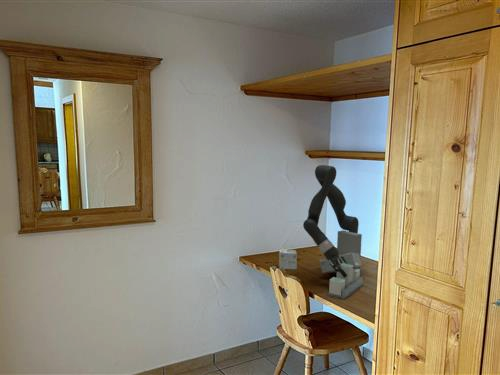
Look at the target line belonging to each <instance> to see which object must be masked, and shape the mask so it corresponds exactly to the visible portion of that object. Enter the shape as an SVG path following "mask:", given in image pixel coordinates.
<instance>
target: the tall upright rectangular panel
mask: <svg viewBox="0 0 500 375" xmlns="http://www.w3.org/2000/svg"><path fill="white" fill-rule="evenodd" d="M336 240H337V242H336V249H337V250H338V252H339V253H338V255H339V256H340V255H344V254H348V253H359V256H360V259H361V256H362V253H361V252H362V234H361V233H359V232H358V233H353V232H349V231H347V230H343V229H341V230H338V231H337V238H336ZM353 268H355V269H360V270H361V266H357V267H353ZM360 275H361V271H360Z"/></svg>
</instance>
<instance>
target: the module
mask: <svg viewBox="0 0 500 375" xmlns="http://www.w3.org/2000/svg"><path fill="white" fill-rule="evenodd" d="M341 267H342V269H343V270H344V271H345V273H346V274H347V276H346V277H345V278H344V277H343V276H342V274H341V273H340V272H336V278H340V279H344V280H345V285H348V286H349V285H350V284H352V277H353V265H350V264H345V263H341ZM339 268H340V267H339Z"/></svg>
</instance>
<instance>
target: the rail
mask: <svg viewBox="0 0 500 375" xmlns="http://www.w3.org/2000/svg"><path fill="white" fill-rule="evenodd" d="M363 278H364V277H363V276H360V277H359V278H358V279H357V280H356V281H354V282H353V283H352V284H350V285H349V286H348V285H345V289H343V290H342V295H341V296H340V295H336V294H333V293H329V291H328V292H327V296H330V297H334V298H338V299H341V300H345V299H347V298H348V297H349V296H351V295H352V294H353V293H354V292H356V291H357V290H358V289H359V288H360V287H362V286H363V282H364V281H363V280H364V279H363Z"/></svg>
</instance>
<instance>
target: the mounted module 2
mask: <svg viewBox="0 0 500 375" xmlns="http://www.w3.org/2000/svg"><path fill="white" fill-rule="evenodd" d="M360 272H361V268H360V269H355V268H353V277H352V283H353V282H354V281H356V280H357V279H358V278H360V277H361V276H360V275H361V274H360Z"/></svg>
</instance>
